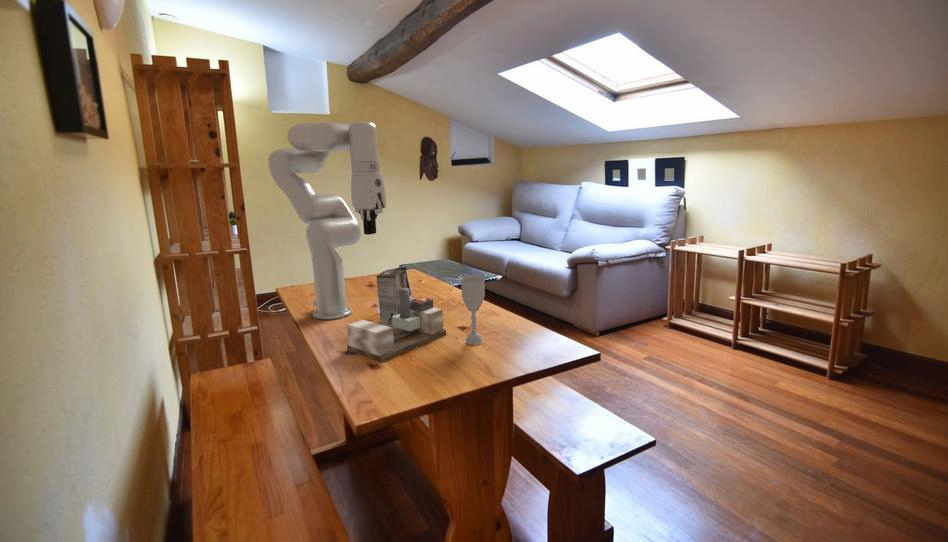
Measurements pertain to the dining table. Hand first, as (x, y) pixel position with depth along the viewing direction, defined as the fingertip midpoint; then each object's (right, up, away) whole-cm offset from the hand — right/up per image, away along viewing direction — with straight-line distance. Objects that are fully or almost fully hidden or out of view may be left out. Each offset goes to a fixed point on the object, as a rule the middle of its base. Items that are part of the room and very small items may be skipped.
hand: (370, 233), depth 140 cm
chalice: (+30, -30, -5) cm, 43 cm away
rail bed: (+9, -31, -4) cm, 32 cm away
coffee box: (+5, -27, +13) cm, 30 cm away
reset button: (+15, -21, +1) cm, 26 cm away
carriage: (+11, -26, -3) cm, 29 cm away
